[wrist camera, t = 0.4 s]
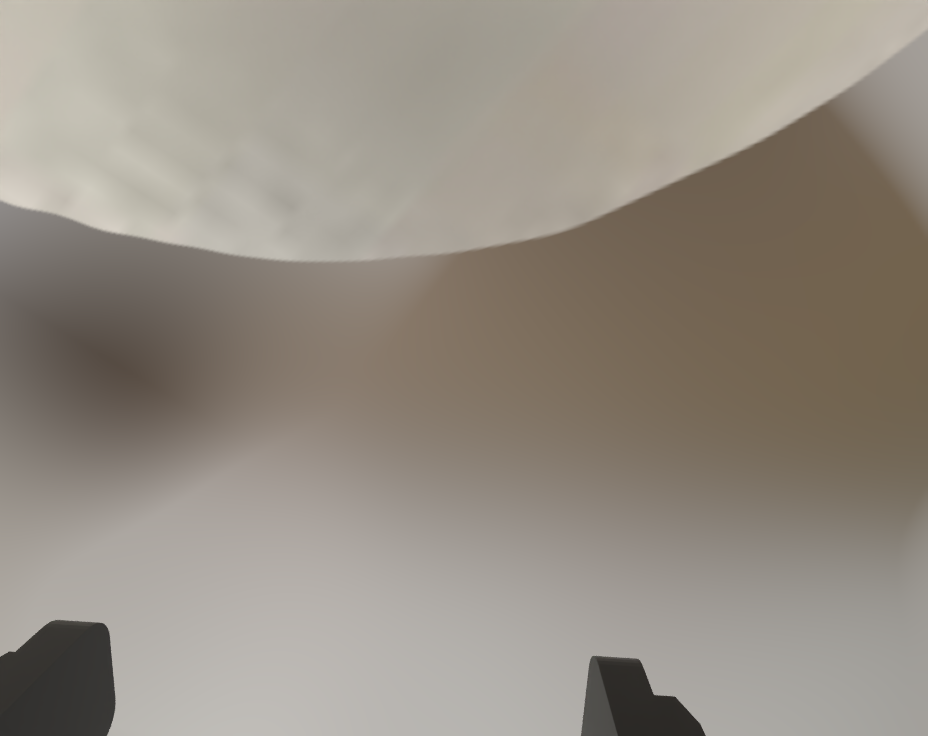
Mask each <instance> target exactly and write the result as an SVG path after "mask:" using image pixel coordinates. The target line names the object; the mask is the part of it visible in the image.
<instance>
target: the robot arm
mask: <svg viewBox="0 0 928 736" xmlns="http://www.w3.org/2000/svg"><path fill="white" fill-rule="evenodd" d="M114 711H115V691H114V679H113V668H112V658H111V646H110V635H109V631H108V628H107V627H106V625H105V624H103V623H94V622H79V621H64V620H55V621H51V622H50V623H48V624H47V625H45V626H44V627H43V628H42V629H40V630H39V631H38V632H37V633H36V634H35V635H34V636H33V637H32V638H30V639H29V640H28V641H27V642H26V643H25V644H24V645H23V646H21V647H20V648H19V649H18V650H17V651H16V652H8V653H6V654H4V655H3V656H1V657H0V736H107V734H108V732H109V729H110V727H111V723H112V721H113V716H114ZM581 736H705V733H704V731H703V729H702V727H701V725H700V723H699V722H698V721H697V720H696V719H695V718H694V717H693V716H692V715H691V714H690V713H689V711H688V710H687V709H686V708H685V707H684V706H683V705H682V704H681V703H680V702H679V701H678V699H677V698H676V697H672V696H658V695H657V696H656V695H654V694H653V692H652V689H651V687H650V684H649V681H648V679H647V676H646V673H645V671H644V668H643V666H642V663H641V662H640V660H639V659H632V658H617V657H602V656H592V658H591V660H590V664H589V672H588V681H587V689H586V698H585V707H584V715H583V725H582V733H581Z"/></svg>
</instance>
